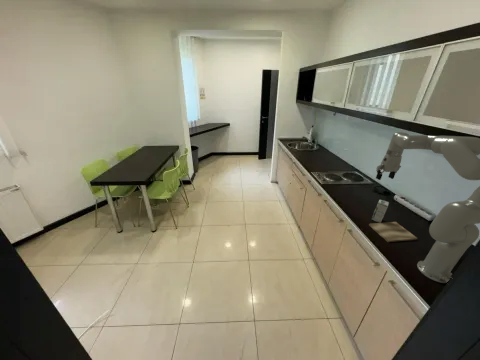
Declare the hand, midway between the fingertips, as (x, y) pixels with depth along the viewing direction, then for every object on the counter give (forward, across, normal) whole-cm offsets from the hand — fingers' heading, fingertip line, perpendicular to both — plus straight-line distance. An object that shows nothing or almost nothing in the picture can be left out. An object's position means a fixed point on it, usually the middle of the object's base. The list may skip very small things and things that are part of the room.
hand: (384, 178), depth 127 cm
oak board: (+31, +3, -16) cm, 35 cm away
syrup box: (+31, +4, -3) cm, 32 cm away
